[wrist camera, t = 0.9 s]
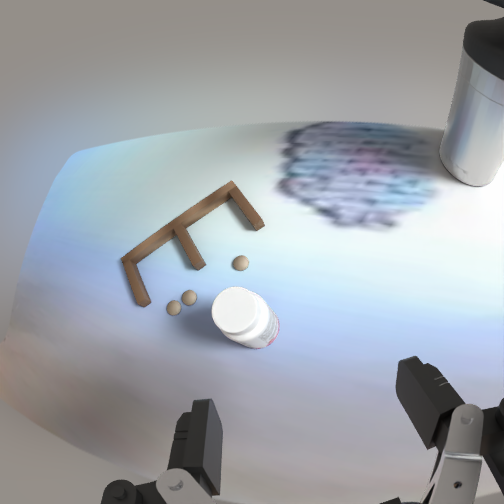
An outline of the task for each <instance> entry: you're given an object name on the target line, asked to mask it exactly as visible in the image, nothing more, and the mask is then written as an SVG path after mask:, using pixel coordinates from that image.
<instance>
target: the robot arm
mask: <svg viewBox="0 0 504 504" xmlns="http://www.w3.org/2000/svg"><path fill="white" fill-rule="evenodd" d="M484 1H487V2H489V3H491V4H494V5H497V6H499V7H502V8H504V0H484ZM439 153H440V158H441V160H442V162H443V164H444V166H445V167H446V169H447V170H448V171H449V172H450V173H451V174H452V175H453V176H454V177H456V178H457V179H459V180H460V181H462V182H464V183H466V184H469V185H473V186H484V185H487V184H489V183H490V182H491V181H492V180H493V178H494V177H495V175H496V173H497V171H498V169H499V167H500V165H501V164H502V162H503V160H504V17H503V18H499V19H495V20H481V21H474V22H471V23H470V24H468V26H467V27H466V29H465V33H464V40H463V47H462V54H461V59H460V66H459V71H458V76H457V81H456V86H455V91H454V95H453V100H452V104H451V108H450V112H449V116H448V120H447V124H446V127H445V131H444V134H443V138H442V141H441V145H440V151H439ZM396 393H397V397H398V399H399V401H400V402H401V404H402V406H403V407H404V409H405V411H406V413H407V414H408V416H409V418H410V420H411V421H412V423H413V425H414V427H415V428H416V430H417V432H418V434H419V436H420V437H421V439H422V441H423V443H424V444H425V446H426V448H427V450H428V449H430V448H433V447H435V446H436V447H437V449H438V452H437V455H436V458H435V462H434V465H433V469H432V472H431V475H430V478H429V481H428V484H427V487H426V490H425V492H424V494H423V497H422V499H421V501H420V503H418V502H402V503H401V501H400V499H399V497H398V498H395V499H392V500H389V501H386V502H383V503H380V504H473V503H474V499H475V495H476V491H477V486H478V481H479V476H480V471H481V465H482V456H483V458H484V459H485V461H486V463H487V465H488V467H489V468H490V470H491V472H492V474H493V476H494V478H495V480H496V482H497V483H498V485H499V487H500V489H501V491H502V493H503V495H504V398H503V399H502V400H501V402H500V404H499V406H498V407H493V408H489V409H483V410H481V409H480V408H479V407H477V406H476V405H473V404H465V402H464V401H463V400H462V399H461V397H460V396H459V395H458V393H457V392H456V391H455V390H454V388H453V387H452V386H451V385H450V383H448V381H447V380H446V378H445V377H443V375H442V374H441V372H440V371H439V370H438V369H437V368H436V367H434V366H432V365H431V364H429V363H427V364H424V365H423V363H422V362H421V361H420V360H419V358H418V357H417V356H413V357H410V358H406V359H403V360H400V361H399V363H398V371H397V380H396ZM222 439H223V431H222V424H221V421H220V418H219V416H218V413H217V410H216V408H215V405H214V402H213V400H212V399H202V400H194V401H193V405H192V411H191V412H186V413H183V414H182V416H181V417H180V418H179V420H178V421H177V424H176V429H175V434H174V441H173V444H172V449H171V454H170V459H169V464H168V468H167V471H165V472H163V473H162V474H161V475H160V476H159V477H158V479H157V480H156V481H154V482H150V483H146V484H141V485H136V486H134V485H133V484H132V483H131V482H129V481H127V480H116V481H113V482H111V483H110V484H109V485H107V487H106V488H105V490H104V493H103V497H102V501H101V504H217V503H216V502H215V501H214V500H213V499H212V496H214V495H220V482H221V459H222Z"/></svg>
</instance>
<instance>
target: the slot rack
mask: <svg viewBox="0 0 504 504" xmlns="http://www.w3.org/2000/svg"><path fill="white" fill-rule="evenodd" d="M230 198H233V200H234V201H235V202H236V204H237V205H238V206H239V208H240V209H241V210H242V212H243V213H244V214H245V216H246V217H247V219H248V220H249V221H250V223H251V224H252V225H253V227H254V228H255V230H256V231H258V230H259V229H261V228H262V227H264V226H265V225H264V222H263V220H262V219H261V217H260V216H259V215H258V213H257V212H256V211H255V209H254V208H253V207H252V206H251V204H250V203H249V202H248V200H247V199H246V198H245V197H244V195H243V194H242V193H241V191H240V190H239V189H238V188H237V186H236V185H235V184H234V182H233V181H230V182H229V183H227V184H226V185H224V186H223V187H221V188H220V189H218V190H217V191H215V192H213V193H212V194H210V195H209V196H207V197H206V198H205V199H203V200H202V201H200V202H199V203H197V204H196V205H194V206H193V207H191V208H190V209H188V210H187V211H185V212H184V213H183V214H181V215H180V216H178V217H177V218H175V219H174V220H173V221H171V222H170V223H168V224H167V225H166V226H164V227H163V228H161V229H160V230H159V231H157V232H156V233H154V234H153V235H152V236H150V237H149V238H147V239H146V240H145V241H143V242H142V243H141V244H139V245H138V246H137V247H135V248H134V249H133V250H131V251H130V252H129V253H127V254H126V255H125V256H123V257H122V258H121V260H122V263H123V266H124V269H125V271H126V274H127V277H128V280H129V282H130V285H131V288H132V290H133V293H134V296H135V298H136V301H137V303H138V305H141V306H143V307H146V306H147V305H149V304H150V303H151V300H150V298H149V295H148V293H147V291H146V288H145V286H144V283H143V281H142V278H141V276H140V273H139V271H138V268H137V266H136V264H137V263H138V262H140V261H141V260H142V259H144V258H145V257H147V256H148V255H149V254H151V253H152V252H153V251H155V250H156V249H158V248H159V247H160V246H162V245H163V244H165V243H166V242H167V241H169V240H170V239H172V238H173V237H175V236H176V235H177V236H178V238H179V240H180V242H181V244H182V246H183V248H184V250H185V252H186V254H187V255H188V257H189V259H190V261H191V263H192V265H193V266H194V267H195V268H196V269H197V270H200V269H201V268H203V267H204V266H206V264H205V262H204V260H203V258H202V257H201V255H200V253H199V251H198V249H197V248H196V246H195V244H194V242H193V240H192V239H191V237H190V235H189V233H188V231H187V230H186V228H187V227H189V226H190V225H192V224H193V223H195V222H196V221H198V220H199V219H201V218H202V217H203V216H205V215H206V214H208V213H209V212H211V211H212V210H214V209H215V208H217V207H218V206H220V205H221V204H223V203H224V202H226V201H227V200H229V199H230ZM233 265H234V267H235V269H236V270H238V271H243V270H245V269H246V268H247V267H248V265H249V261H248V259H247V257H245V256H242V255H241V256H238V257H236V258H235V259H234V262H233ZM196 300H197V295H196V293H195V292H194V291H192V290H188V291H186V292H184V294H183V296H182V301H183V303H184V304H186V305H193V304H194V303H195V302H196ZM167 311H168V313H169V314H170V315H173V316H175V315H178V314H179V313H180V311H181V304H180V303H179V302H178V301H175V300H174V301H171V302H170V303H169V304H168V306H167Z"/></svg>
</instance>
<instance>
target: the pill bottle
mask: <svg viewBox="0 0 504 504" xmlns="http://www.w3.org/2000/svg"><path fill="white" fill-rule="evenodd" d="M212 318H213V320H214V322H215V324H216V325H217V326H218V327H219V328H220V329H221V331H222V332H223V334H224V335H225V336H226V337H228V338H229V339H231V340H233V341H235V342H237V343H240V344H242V345H244V346H246V347H249V348H252V349H261V348H265V347H267V346H269V345H270V344H271V343H272V342H273V341H274V340H275V339H276V337H277V335H278V333H279V320H278V317H277V315H276V314H275V312H274V311H273V310H272V309H271V308H270V307H269V305H268V304H267V303H266V302H265V301H264V300H263V299H262V298H261V297H260V296H259V295H258V294H256V293H254V292H251V291H249V290H247V289H245V288H242V287H230V288H227V289H225V290H223V291H222V292H221V293H219V294H218V296H217V297H216V298H215V300H214V302H213V305H212Z"/></svg>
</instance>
